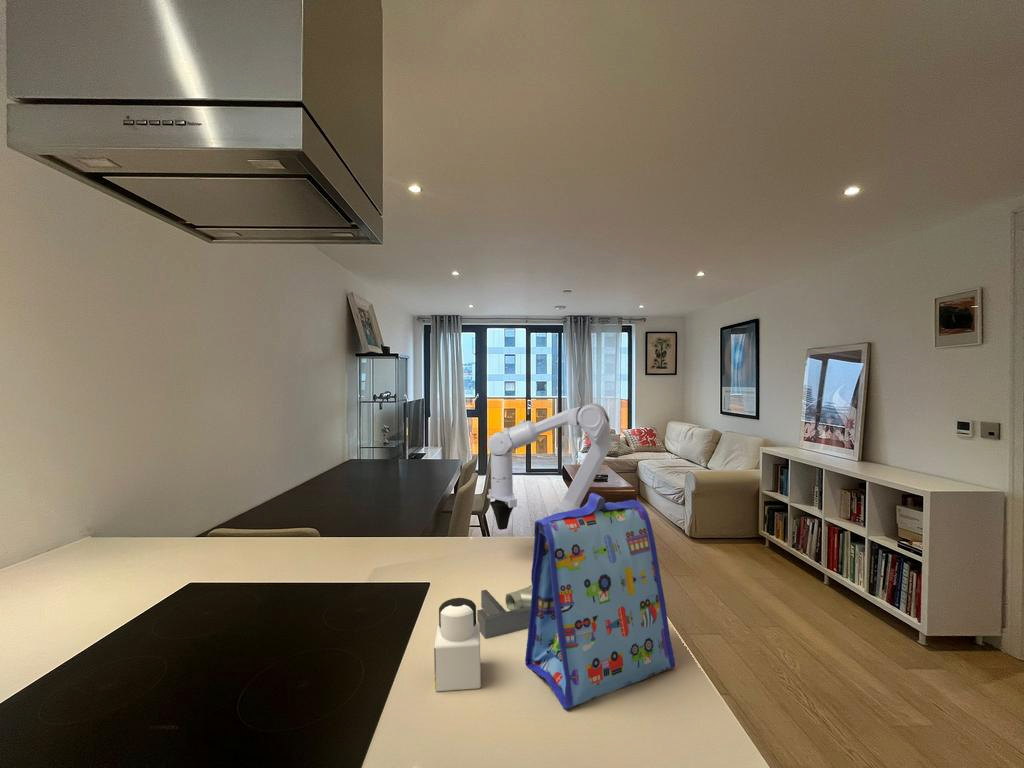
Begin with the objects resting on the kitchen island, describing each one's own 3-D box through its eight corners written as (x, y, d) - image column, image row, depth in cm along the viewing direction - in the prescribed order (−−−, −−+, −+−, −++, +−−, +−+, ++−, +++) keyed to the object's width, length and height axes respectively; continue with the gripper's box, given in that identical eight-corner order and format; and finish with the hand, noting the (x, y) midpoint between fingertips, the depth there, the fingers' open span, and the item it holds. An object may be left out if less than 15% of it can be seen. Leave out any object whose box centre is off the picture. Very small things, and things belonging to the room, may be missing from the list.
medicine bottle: (438, 665, 78) (437, 594, 79) (480, 662, 79) (479, 592, 79) (434, 692, 71) (433, 614, 71) (480, 689, 72) (479, 612, 72)
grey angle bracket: (555, 590, 107) (554, 575, 107) (584, 613, 95) (583, 596, 96) (464, 610, 98) (464, 594, 98) (485, 638, 86) (484, 620, 86)
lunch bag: (622, 633, 88) (620, 481, 88) (678, 671, 76) (674, 495, 76) (522, 665, 78) (520, 495, 78) (568, 715, 66) (564, 513, 66)
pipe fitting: (553, 610, 99) (532, 596, 104) (554, 592, 98) (533, 580, 104) (525, 622, 94) (505, 607, 99) (526, 603, 93) (505, 590, 99)
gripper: (478, 474, 127) (478, 523, 127) (498, 483, 114) (499, 538, 114) (501, 472, 130) (502, 520, 130) (524, 481, 117) (524, 534, 117)
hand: (502, 528), depth 122 cm, fingers closed
